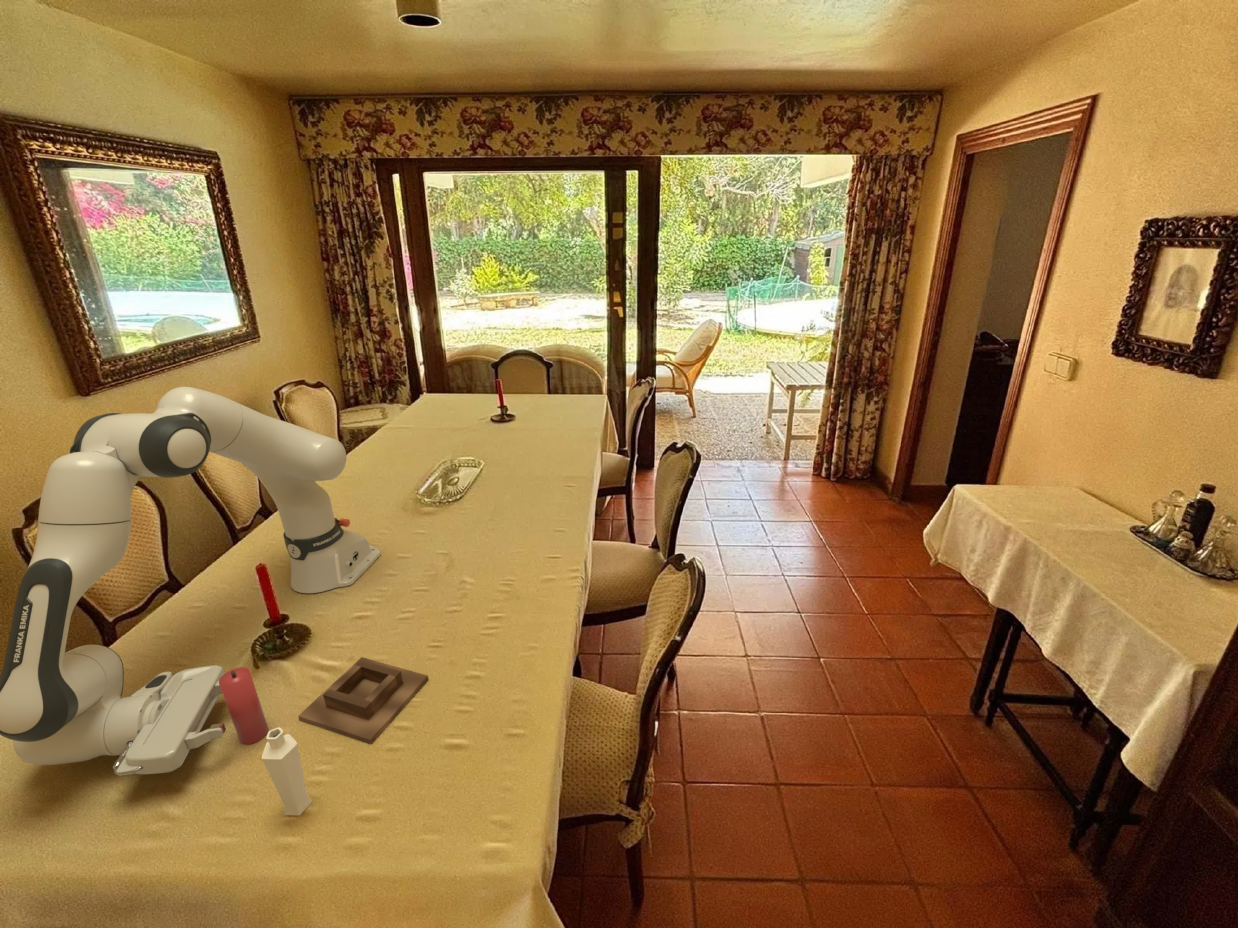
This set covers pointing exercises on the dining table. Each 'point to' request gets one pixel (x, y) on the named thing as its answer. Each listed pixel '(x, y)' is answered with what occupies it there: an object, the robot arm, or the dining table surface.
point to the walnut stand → (364, 699)
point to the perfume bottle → (286, 771)
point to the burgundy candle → (244, 705)
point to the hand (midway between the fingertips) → (234, 707)
